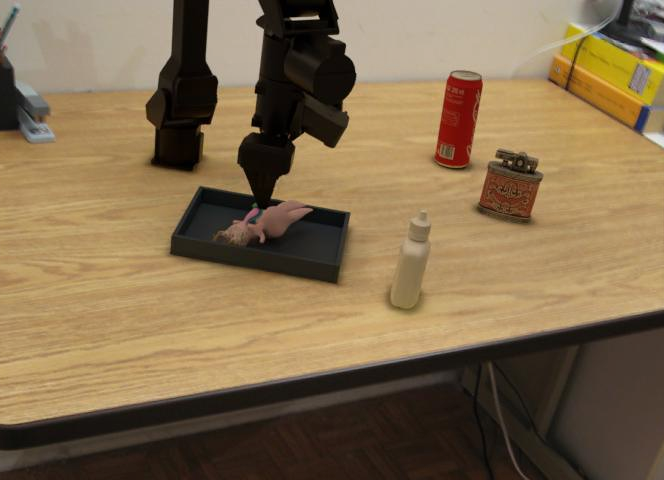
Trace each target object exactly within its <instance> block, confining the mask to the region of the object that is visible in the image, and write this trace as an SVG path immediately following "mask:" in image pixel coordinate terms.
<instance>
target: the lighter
mask: <svg viewBox="0 0 664 480" xmlns="http://www.w3.org/2000/svg"><path fill="white" fill-rule="evenodd" d="M494 158H496V159H498V160H501V161H498V160H490V161H488V163H487V166H486V169H487V171H486V174H485V179H484V183H483V186H482V189H481V194H480V197H479V201H477V203H476V211H477V212H478V213H480V214H483V215H487V216H488V217H492V218H496V219H499V220H504V221H507V222H511V223H518V224H525V225H526V224H529V223H530V222H531V219H532V211H533V209H534V205H535V201H536V199H537V195H538V192H539V188H540V184H541V182H542V181H543V179H544V174H543V172H541V171H539V170H537V169H538V168H537V167H538V165H539V162H540V158H538V157H533V156H529V155H528V154H527V153H526V151H519V152H518V153H516V152H514V151H512V150H510V149H509V150H508V149H505V148H499V147H498V149H496V152H495V155H494ZM510 162H511V163H510Z"/></svg>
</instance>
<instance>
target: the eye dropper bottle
mask: <svg viewBox="0 0 664 480" xmlns="http://www.w3.org/2000/svg"><path fill="white" fill-rule="evenodd" d="M427 215H428V211H427V210H426V209H421V210H420V211H419V213H418V215H417V216H413V217H412V218H411V219H410V223H409V228H408V231H407V234H406V236H404V238H403V239H402V241H401V244H400V247H399V252H398V257H397V260H396V261H397V262H396V266H395V271H394V274H393V280H392V284H391V289H390V294H389V300H390V303H391V305H392V306H394V307H397V308H400V309H405V310H409V309H410V310H411V309H412V308H414V306H415V305H416V304H417V303H418V301H419V298H420V294H421V289H422V285H423V282H424V277H425V272H426V268H427V265H428V259H429V256H430V252H431V242H430V239H429V237H430V233H431V229H432V222H431V220H430V219H428V217H427Z"/></svg>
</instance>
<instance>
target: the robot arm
mask: <svg viewBox="0 0 664 480" xmlns="http://www.w3.org/2000/svg"><path fill="white" fill-rule="evenodd" d="M257 1H258V4H259V6H260V8H261V10H262V13H263V14H262V15H260V16H259V17H258V18H257V19H255V25H256V26H257V27H259V28H260V29H262V30H263V32H262V33H263V35H262V44H261V52H260V63H259V73H258V79H257V82H256V83H255V85H254V94H256V99H255V108H254V113H253V115H252V117H251V122H250V127H252V128H258V130H259V132H256V131H251V132H249V134H248V135H246V136H244V137H243V139H242V140H241V143H240V145H239V146H238V149H237V158H236V164H237V165H238V166H239V167H240V168H241V169H242V171H243V173H244V175H245V177H246V179H247V182H248V185H249V187H250V190H251V192H252V195H254V198H255V201H256V204H257V206H258V208H259V209H262V210H267V208H268V205H269V202H270V199H271V198H272V196H273V193H274V190H275V187H276V185H277V181H278V180H279V179H280V178H281V177H282V176H287V175H289V174H290V172H291V169H292V168H293V164H294V158H295V155H296V145H295V144H294V143H293V142H294V141H295V140H297V139H298V138H300V137H301V136H303V135H304V134H307V135H308V136H310V137H312V138H313V139H316V140H317V141H319V142H321V143H323V145H324V146H325V147H327V148H328V149H335V148H336V147H337V145H338V144H339V142H340V140H341V138H342V137H343V135H344V133H345V131H346V130H347V129H348V125H349V122H350V116H349V114H348V111H346V110H343V109H344V100H345V99H347V97H349V96H350V94H351V93H352V91H353V89H354V87H355V84H356V82H357V75H358V73H357V72H356V66H355V63H354V61H353V60H352V59H351V57H350V56H348V55H346V51H347V44H346V42H344V41H342V40H340V39H335V38H333V37H332V36H338V35H340V32H341V31H340V25H339V21H338V20H339V19H340V17H339V15H338V12H337V9H336V6H335V2H334V0H257ZM172 3H173V4H172V5H173V6H172V23H171V25H172V26H171V27H172V28H171V49H170V51H171V52H170V56H169V58H168V59H167V61H166V62H165V64H164V65H163V67H162V68H161V70H160V71H159V73H158V80H157V88H156V91H154V93H153V94H152V95H151V96H150V98H149V99H148V101H146V103H145V105H144V106H145V117H146V120H147V121H148V122H149V123H151V125H153V126H154V127H155V129H154V131H155V132H154V153H153V156H152V158H151V159H150V164H151V165H154V166H159V167H165V168H169V169H177V170H182V171H187V172H192V171H194V169H195V168H196V166H197V165H198V164H199V163H200V162H201V161H202V158H203V154H204V143H205V142H204V140H205V133H204V132H203V131H202V126H211V124H212V121H213V118H214V115H215V111H216V108H217V104H218V103H219V102H218V101H219V99H218V98H219V97H218V88H219V79H218V77H217V75H215V74H214V73H213V72H212V70H211V68H210V66H209V64H208V62H207V48H208V29H209V15H210V13H209V12H210V0H173V2H172ZM317 16H318V18H314V17H317ZM293 18H294V19H293ZM296 18H311V19H296ZM312 18H313V19H312ZM292 19H293V20H292Z"/></svg>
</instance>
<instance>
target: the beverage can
mask: <svg viewBox="0 0 664 480" xmlns="http://www.w3.org/2000/svg"><path fill="white" fill-rule="evenodd" d="M445 83H446V84H445V89H444V96H443V103H442V107H441V108H442V109H441V115H440V121H439V128H438V135H437V140H436V147H435V153H434V160H435V162H436V163H437V164H438V165H441V166H442V167H447V168H452V169H460V168H465V167H467V166H468V165H469V163H470V161H471V160H470V159H471V155H472V151H473V150H472V149H473V143H474V139H475V132H476V127H477V121H478V116H479V115H478V114H479V110H480V104H481V99H482V93H483V87H484V83H483V76H482V75H481V73H478V72H476V71H472V70H462V69H461V70H460V69H457V70H452V71H450V73H449V76H448V77H447V79H446V82H445Z"/></svg>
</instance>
